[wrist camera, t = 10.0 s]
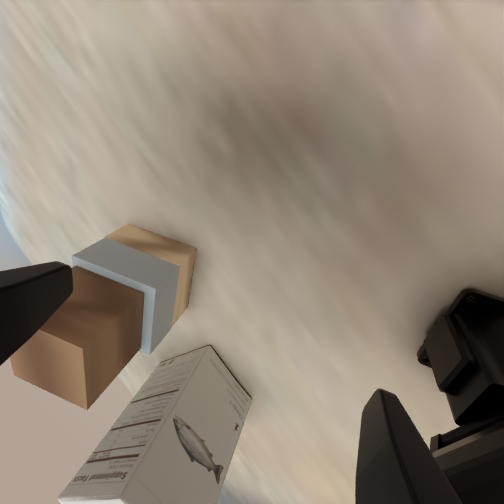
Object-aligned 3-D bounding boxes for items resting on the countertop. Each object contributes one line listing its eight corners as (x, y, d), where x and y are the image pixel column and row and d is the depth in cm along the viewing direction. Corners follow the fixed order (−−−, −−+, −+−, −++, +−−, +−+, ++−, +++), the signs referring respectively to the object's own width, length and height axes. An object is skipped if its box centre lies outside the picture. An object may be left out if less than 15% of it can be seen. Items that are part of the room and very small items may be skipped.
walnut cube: (144, 292, 19) (82, 348, 14) (140, 347, 21) (87, 410, 17) (76, 265, 19) (-2, 311, 15) (80, 321, 22) (14, 375, 18)
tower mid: (179, 266, 21) (155, 288, 18) (171, 328, 24) (149, 355, 21) (105, 237, 22) (72, 255, 19) (106, 300, 25) (77, 323, 22)
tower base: (197, 247, 23) (179, 264, 21) (188, 305, 26) (171, 327, 24) (130, 223, 24) (104, 237, 22) (129, 282, 27) (105, 300, 25)
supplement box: (255, 399, 29) (197, 578, 18) (199, 410, 32) (122, 567, 21) (211, 341, 27) (118, 501, 16) (157, 360, 31) (51, 502, 20)
